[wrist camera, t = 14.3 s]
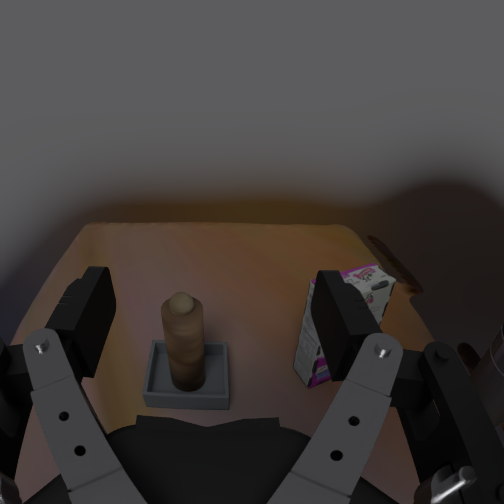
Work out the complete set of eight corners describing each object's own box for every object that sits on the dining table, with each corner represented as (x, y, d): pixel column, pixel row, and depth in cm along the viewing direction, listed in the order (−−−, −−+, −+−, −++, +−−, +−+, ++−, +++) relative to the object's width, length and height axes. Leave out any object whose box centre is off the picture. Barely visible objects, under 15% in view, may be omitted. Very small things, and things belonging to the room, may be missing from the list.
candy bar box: (346, 344, 50) (374, 260, 42) (364, 364, 46) (398, 279, 38) (289, 366, 45) (309, 277, 37) (307, 390, 42) (334, 301, 33)
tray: (226, 355, 47) (226, 342, 45) (228, 409, 38) (228, 397, 37) (155, 353, 46) (152, 339, 44) (146, 406, 37) (142, 394, 35)
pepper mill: (205, 366, 44) (203, 282, 36) (205, 392, 40) (201, 309, 32) (173, 365, 43) (162, 281, 36) (170, 391, 39) (156, 307, 32)
